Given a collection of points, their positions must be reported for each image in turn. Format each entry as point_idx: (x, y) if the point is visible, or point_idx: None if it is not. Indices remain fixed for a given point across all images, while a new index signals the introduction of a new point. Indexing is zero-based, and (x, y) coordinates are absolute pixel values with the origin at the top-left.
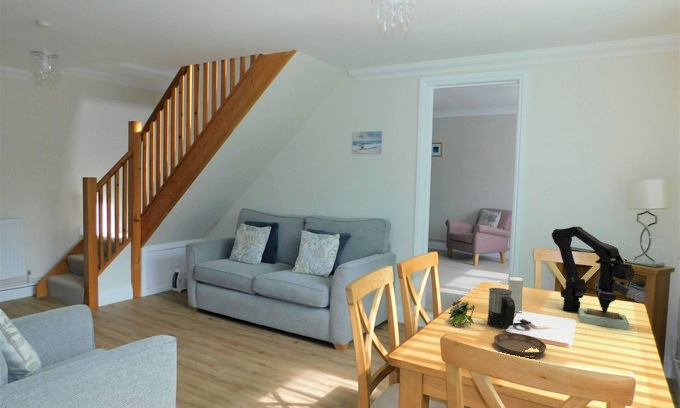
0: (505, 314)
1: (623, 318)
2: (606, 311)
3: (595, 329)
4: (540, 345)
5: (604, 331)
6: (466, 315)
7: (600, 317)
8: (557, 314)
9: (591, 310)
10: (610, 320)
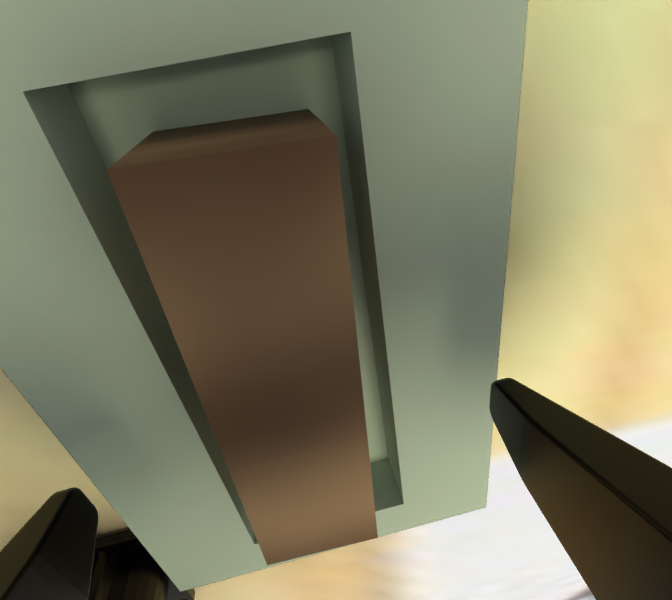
0: None
1: (187, 24)
2: (545, 400)
3: (620, 313)
4: None
5: (658, 236)
6: None
7: (441, 372)
8: (340, 573)
9: (346, 517)
10: (502, 246)
